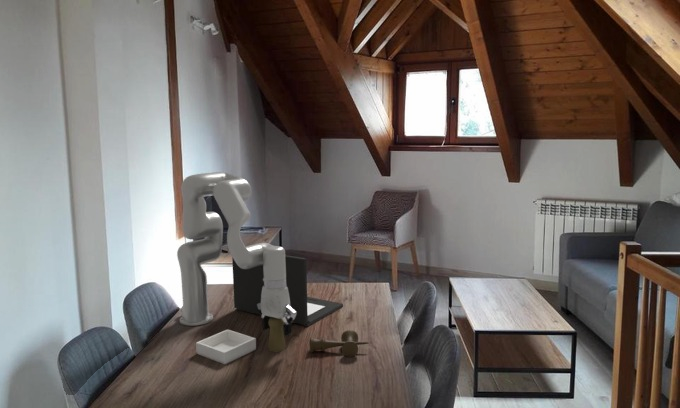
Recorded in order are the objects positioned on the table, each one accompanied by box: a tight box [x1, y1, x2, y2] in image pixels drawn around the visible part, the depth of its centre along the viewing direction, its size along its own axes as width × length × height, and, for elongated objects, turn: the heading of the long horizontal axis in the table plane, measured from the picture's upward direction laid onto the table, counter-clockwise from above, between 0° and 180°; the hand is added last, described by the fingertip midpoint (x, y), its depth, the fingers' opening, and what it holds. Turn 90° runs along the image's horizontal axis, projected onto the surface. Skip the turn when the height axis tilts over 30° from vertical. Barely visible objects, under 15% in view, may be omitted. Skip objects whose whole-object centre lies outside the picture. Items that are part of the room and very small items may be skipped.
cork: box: [267, 317, 286, 353], centre depth 182 cm, size 6×6×11 cm
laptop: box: [231, 254, 344, 327], centre depth 220 cm, size 37×27×27 cm
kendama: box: [309, 329, 369, 358], centre depth 179 cm, size 6×10×20 cm
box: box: [195, 329, 257, 365], centre depth 180 cm, size 14×14×4 cm
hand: (277, 331), depth 181 cm, fingers open, 9 cm apart
